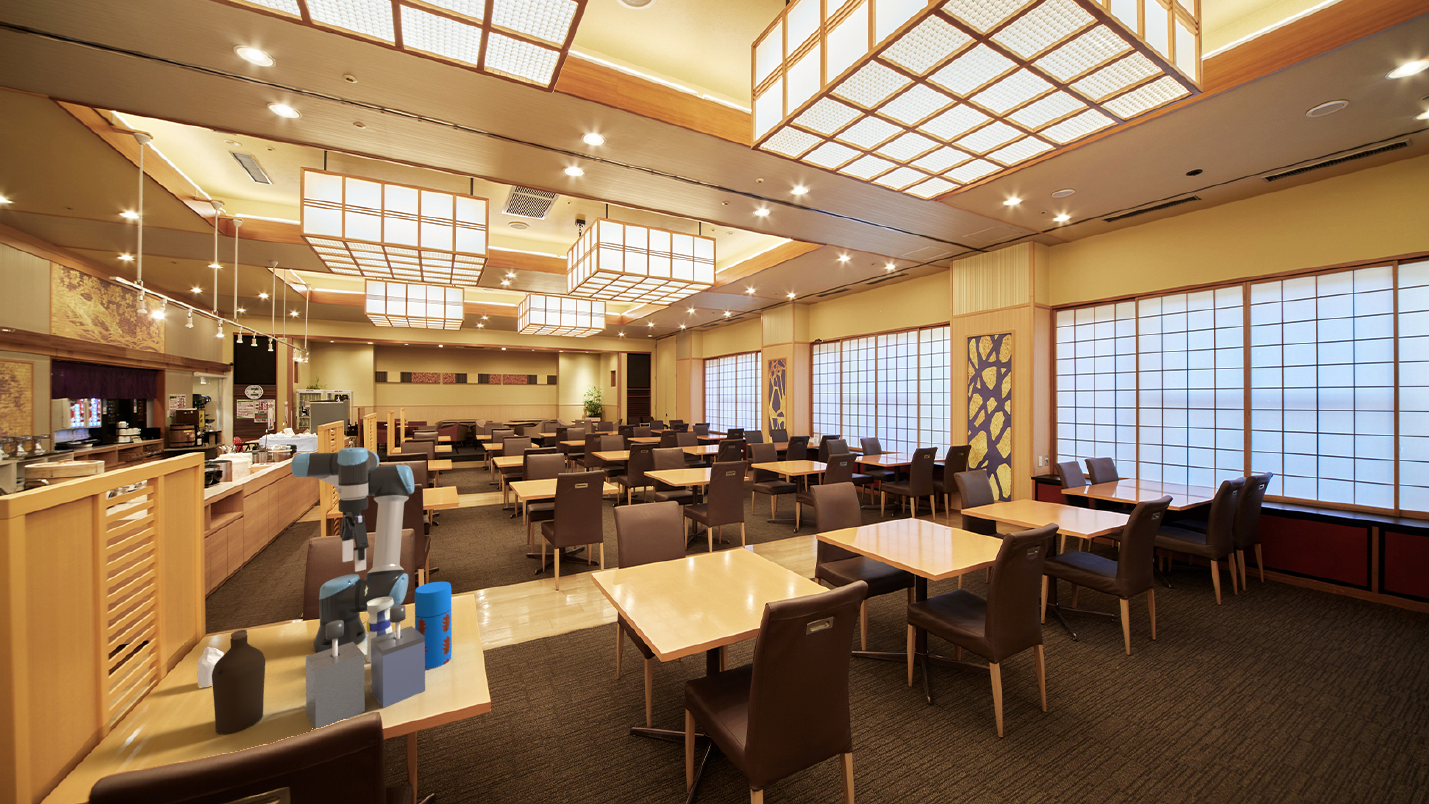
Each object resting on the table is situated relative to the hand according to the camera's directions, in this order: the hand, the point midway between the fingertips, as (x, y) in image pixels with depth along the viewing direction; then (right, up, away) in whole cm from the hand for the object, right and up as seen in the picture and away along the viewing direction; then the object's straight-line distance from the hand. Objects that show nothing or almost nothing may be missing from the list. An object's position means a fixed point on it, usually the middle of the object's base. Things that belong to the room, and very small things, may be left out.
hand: (354, 565), depth 155 cm
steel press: (+4, -37, -14) cm, 39 cm away
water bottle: (-3, -37, +16) cm, 40 cm away
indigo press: (+15, -37, -3) cm, 40 cm away
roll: (-45, -37, 0) cm, 58 cm away
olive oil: (-18, -37, -19) cm, 45 cm away
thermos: (+18, -37, +13) cm, 43 cm away
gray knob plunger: (+17, -31, -5) cm, 36 cm away
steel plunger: (+6, -31, -15) cm, 35 cm away
